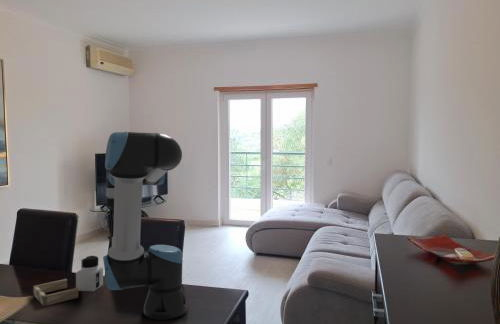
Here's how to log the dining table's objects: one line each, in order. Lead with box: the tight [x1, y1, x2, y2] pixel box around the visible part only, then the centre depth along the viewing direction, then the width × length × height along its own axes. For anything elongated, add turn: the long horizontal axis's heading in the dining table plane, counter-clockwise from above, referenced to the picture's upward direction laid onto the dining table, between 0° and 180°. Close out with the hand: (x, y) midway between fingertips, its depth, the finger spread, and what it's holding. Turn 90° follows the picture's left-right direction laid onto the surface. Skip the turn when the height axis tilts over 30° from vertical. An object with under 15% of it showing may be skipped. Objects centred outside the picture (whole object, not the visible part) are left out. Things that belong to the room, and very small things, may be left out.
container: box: [75, 255, 104, 292], centre depth 153 cm, size 8×8×13 cm
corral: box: [32, 278, 79, 307], centre depth 144 cm, size 14×12×4 cm
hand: (115, 250), depth 160 cm, fingers closed
